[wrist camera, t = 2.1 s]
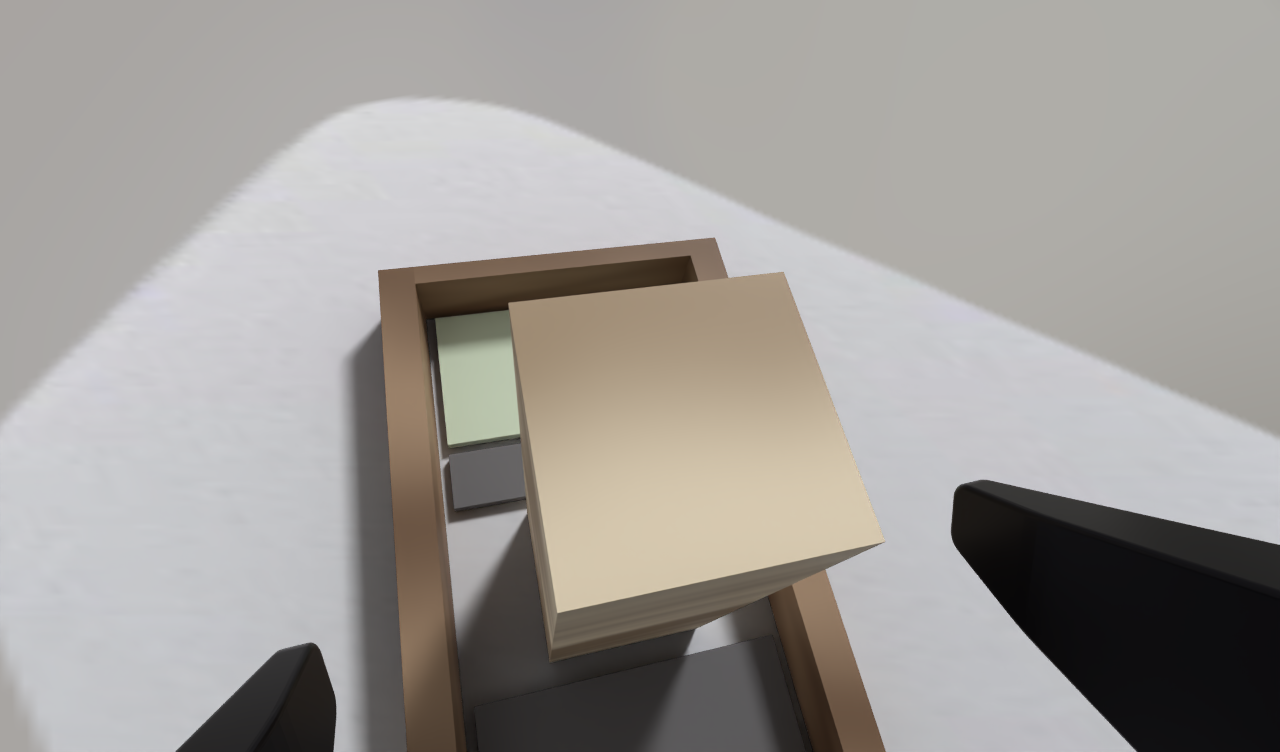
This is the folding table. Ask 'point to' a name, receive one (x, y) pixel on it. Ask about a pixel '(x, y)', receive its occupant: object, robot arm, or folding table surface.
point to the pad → (477, 378)
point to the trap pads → (633, 677)
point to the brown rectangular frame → (421, 551)
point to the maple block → (677, 457)
